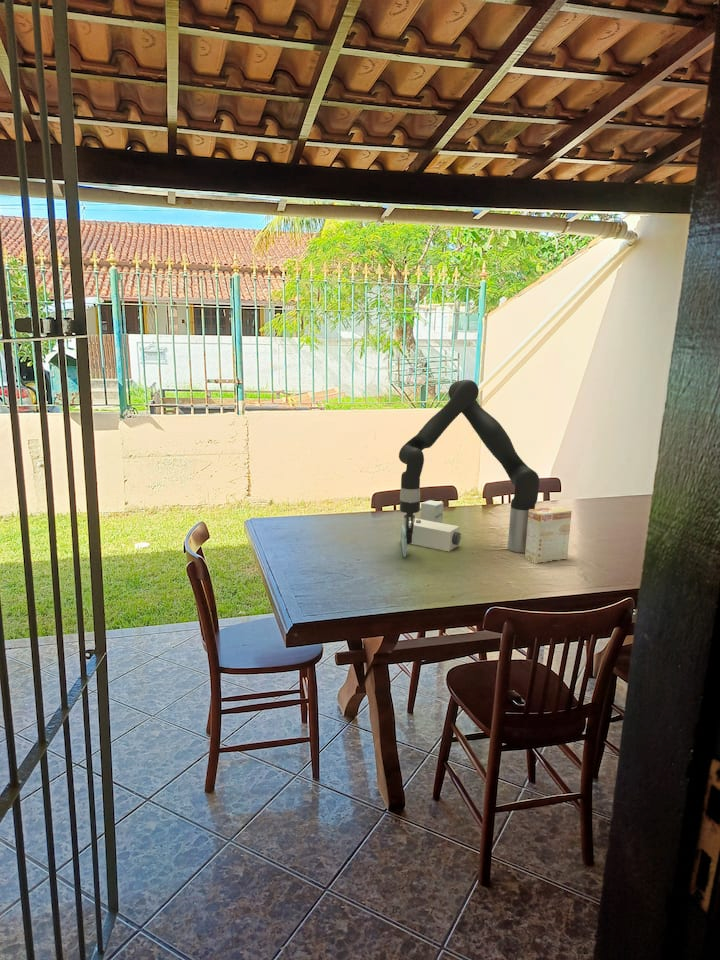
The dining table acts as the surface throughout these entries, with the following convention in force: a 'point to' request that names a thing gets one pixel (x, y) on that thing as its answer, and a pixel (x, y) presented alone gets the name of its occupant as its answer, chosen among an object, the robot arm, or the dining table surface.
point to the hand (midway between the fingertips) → (408, 542)
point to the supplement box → (432, 511)
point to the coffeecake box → (548, 534)
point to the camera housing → (435, 535)
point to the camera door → (403, 540)
